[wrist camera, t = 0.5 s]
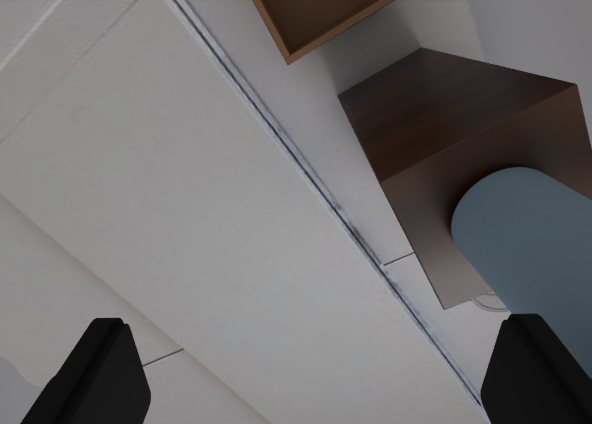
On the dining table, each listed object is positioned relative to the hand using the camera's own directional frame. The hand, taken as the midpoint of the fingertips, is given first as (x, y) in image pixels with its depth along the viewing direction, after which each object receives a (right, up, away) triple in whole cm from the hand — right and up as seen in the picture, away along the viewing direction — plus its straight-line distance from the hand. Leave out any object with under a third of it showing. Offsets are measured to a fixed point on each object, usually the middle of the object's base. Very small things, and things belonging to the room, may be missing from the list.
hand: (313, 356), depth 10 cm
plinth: (+9, +13, +25) cm, 29 cm away
